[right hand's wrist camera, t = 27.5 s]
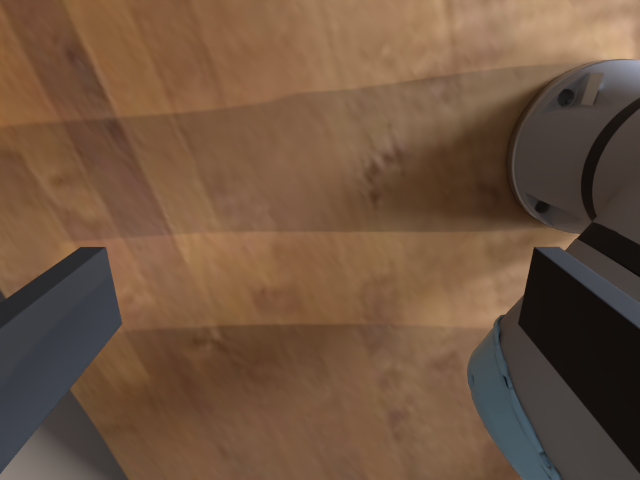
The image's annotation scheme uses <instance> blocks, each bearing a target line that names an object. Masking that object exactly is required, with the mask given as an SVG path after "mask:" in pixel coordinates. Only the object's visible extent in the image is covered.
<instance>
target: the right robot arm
mask: <svg viewBox="0 0 640 480" xmlns="http://www.w3.org/2000/svg"><path fill="white" fill-rule="evenodd" d="M507 176H508V181H509V184H510V188H511V190H512V192H513V195H514V196H515V198H516V200H517V201H518V203H519V204H520V205H521V206H522V207H523V209H524V210H525V211H526V212H528V213H529V214H530V215H531V216H533V217H535V218H536V219H538V220H539V221H541V222H542V223H544V224H546V225H548V226H550V227H552V228H555V229H558V230H562V231H565V232H570V233H577V234H580V236H579V237H578V238H577V239H575V240H574V241H573V242H572V243H571V245H570V246H569V247H568V248H567V249H566V250H565V251H564V250H563V249H561V248H560V247H534V250H533V255H532V260H531V265H530V269H529V274H528V279H527V283H526V288H525V293H524V295H523V296H522V297H521V299H520V300H519V301H518V302H517V303H516V304H515V305H514V306H513V307H512V308H511V309H510V310H509V311H508V312H507V313H506V314H505V315H500V316H499V317H498V318H497V319H496V321H495V323H494V326H493V329H492V330H491V331H490V332H489V333H488V335H487V336H486V337H485V338H484V340H483V341H482V342H481V343H480V344H479V346H478V347H477V348H476V349H475V350H474V352H473V353H472V355H471V357H470V359H469V363H468V369H467V376H468V384H469V387H470V390H471V395H472V399H473V402H474V404H475V407H476V409H477V411H478V414H479V416H480V418H481V420H482V422H483V423H484V425H485V427H486V429H487V431H488V432H489V434H490V436H491V437H492V439H493V440H494V442H495V443H496V445H497V447H498V448H499V449H500V451H501V452H502V454H503V455H504V456H505V458H506V459H507V461H508V462H509V463H510V464H511V466H512V467H513V468H514V470H515V471H516V472H517V473H518V474H519V476H520V477H521V478H522V479H523V480H640V61H638V60H631V59H617V60H603V61H596V62H592V63H588V64H584V65H582V66H579V67H576V68H574V69H572V70H570V71H568V72H566V73H564V74H562V75H561V76H559V77H557V78H556V79H555V80H553V81H552V82H550V83H549V84H548V85H547V86H545V87H544V88H543V89H542V90H541V91H540V92H539V93H538V94H537V95H536V96H535V97H534V98H533V99H532V101H531V102H530V103H529V104H528V106H527V107H526V108H525V110H524V111H523V113H522V115H521V116H520V118H519V120H518V122H517V124H516V126H515V128H514V130H513V133H512V136H511V139H510V142H509V147H508V152H507ZM121 325H122V321H121V316H120V311H119V307H118V302H117V297H116V293H115V288H114V283H113V279H112V274H111V269H110V265H109V260H108V255H107V250H106V247H80V248H79V249H77V250H76V251H75V252H73V253H72V254H70V255H69V256H67V257H66V258H64V259H63V260H62V261H60V262H59V263H57V264H56V265H54V266H53V267H52V268H50V269H49V270H47V271H46V272H44V273H43V274H42V275H40V276H39V277H37V278H36V279H34V280H33V281H31V282H30V283H29V284H27V285H26V286H24V287H23V288H21V289H20V290H19V291H17V292H16V293H14V294H13V295H11V296H10V297H9V298H7V299H6V300H4V301H3V302H1V303H0V473H1V472H2V471H3V470H4V469H5V467H6V466H7V465H8V464H9V462H10V461H11V460H12V459H13V457H14V456H15V455H16V454H17V453H18V451H19V450H20V449H21V448H22V446H23V445H24V444H25V443H26V442H27V440H28V439H29V438H30V437H31V435H32V434H33V433H34V432H35V430H36V429H37V428H38V427H39V426H40V424H41V423H42V422H43V421H44V419H45V418H46V417H47V416H48V414H49V413H50V412H51V411H52V410H53V408H54V407H55V406H56V405H57V403H58V402H59V401H60V400H61V398H62V397H63V396H64V395H65V394H66V392H67V391H68V390H69V389H70V387H71V386H72V385H73V384H74V382H75V381H76V380H77V379H78V378H79V376H80V375H81V374H82V373H83V371H84V370H85V369H86V368H87V366H88V365H89V364H90V363H91V362H92V360H93V359H94V358H95V357H96V355H97V354H98V353H99V352H100V350H101V349H102V348H103V347H104V346H105V344H106V343H107V342H108V341H109V339H110V338H111V337H112V336H113V334H114V333H115V332H116V331H117V330H118V328H119V327H120V326H121Z"/></svg>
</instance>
